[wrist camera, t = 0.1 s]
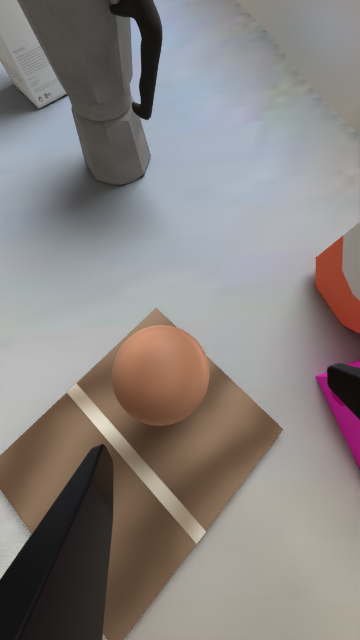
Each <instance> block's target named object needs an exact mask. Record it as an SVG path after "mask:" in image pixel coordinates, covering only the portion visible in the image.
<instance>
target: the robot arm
mask: <svg viewBox="0 0 360 640" xmlns="http://www.w3.org/2000/svg"><path fill="white" fill-rule="evenodd" d="M327 384H328V387H329V388H330V390H331V391H332V392H333V393H334V394H335V395H336V396H337V397H338V398H339V399H340V400H341V401H342V402H343V403H344V404H345V405H346V406H347V407H348V408H349V410H350V411H351V412H352V413H353V414H354V415H355V416H356V417H357V418H358V419H359V420H360V368H359V367H354V366H350V365H345V364H340V363H337V364H334V365H331V366H329V367H328V368H327ZM113 487H114V466H113V460H112V457H111V455H110V453H109V451H108V449H107V448H106V446H105V445H104V444H100V445H97V446H94V447H92V448H91V449H90V451H89V452H88V454H87V455H86V457H85V458H84V459H83V461H82V462H81V464H80V465H79V467H78V468H77V470H76V471H75V472H74V474H73V475H72V477H71V478H70V480H69V481H68V483H67V484H66V485H65V487H64V488H63V490H62V491H61V493H60V494H59V495H58V497H57V498H56V500H55V501H54V503H53V504H52V506H51V507H50V508H49V510H48V511H47V513H46V514H45V516H44V517H43V519H42V520H41V521H40V523H39V524H38V526H37V527H36V529H35V530H34V532H33V533H32V534H31V536H30V537H29V539H28V540H27V542H26V543H25V545H24V546H23V547H22V549H21V550H20V552H19V553H18V555H17V556H16V558H15V559H14V560H13V562H12V563H11V565H10V566H9V568H8V569H7V571H6V572H5V573H4V575H3V576H2V578H1V579H0V640H102V636H103V625H104V614H105V604H106V593H107V582H108V571H109V560H110V549H111V538H112V528H113Z"/></svg>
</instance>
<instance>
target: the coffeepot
mask: <svg viewBox="0 0 360 640" xmlns="http://www.w3.org/2000/svg"><path fill="white" fill-rule="evenodd" d="M17 1H18V3H19V5H20V7H21V9H22V11H23V13H24V15H25V17H26V18H27V20H28V22H29V24H30V26H31V28H32V30H33V32H34V34H35V36H36V38H37V40H38V42H39V44H40V46H41V48H42V49H43V51H44V53H45V55H46V57H47V59H48V61H49V63H50V65H51V67H52V69H53V71H54V73H55V75H56V77H57V79H58V80H59V82H60V84H61V86H62V87H63V89H64V90H65V92H66V93H67V95H68V96H69V99H70V101H71V104H72V113H73V117H74V121H75V125H76V129H77V132H78V136H79V140H80V144H81V148H82V152H83V155H84V159H85V163H86V164H87V166H88V167H89V169H90V171H91V173H92V174H93V175H94V177H95V178H96V180H99V181H101V182H104V183H107V184H112V185H122V184H128V183H130V182H133V181H135V180H137V179H138V178H139V177H141V176H142V175H144V173H145V171H146V169H147V167H148V162H149V158H150V156H151V155H150V152H149V148H148V145H147V141H146V138H145V134H144V131H143V127H142V123H141V120H140V117H141V118H142V119H145V120H148V119H149V118H150V117H151V113H152V106H153V99H154V92H155V85H156V78H157V70H158V64H159V58H160V52H161V45H162V25H161V21H160V17H159V14H158V12H157V9H156V7H155V4H154V2H153V0H17ZM130 17H131V18H134V19H135V20H136V22H137V25H138V27H139V30H140V33H141V37H142V41H141V77H140V82H139V90H140V96H141V104H137V103H135V101H134V99H133V97H132V96H131V91H130V85H129V84H130V82H131V79H132V52H131V29H130Z"/></svg>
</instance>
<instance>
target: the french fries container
mask: <svg viewBox="0 0 360 640" xmlns="http://www.w3.org/2000/svg"><path fill="white" fill-rule="evenodd" d="M316 288H317V289H318V291H319V292H320V294H321V295H322V296H323V298H324V299H325V301H326V302H327V304H328V305H329V307H330V308H331V310H332V311H333V312H334V314H335V315H336V317H337V318H338V320H339V321H340V323H341V324H342V325H343V326H345V327H347V328H349V329H351V330H353V331H355V332H357V333H359V334H360V222H359V223H358V224H357V225H356V226H354V227H353V228H352V229H351V230H349V231H348V232H347V233H346V234H345V235H343V236H342V237H341V238H340V239H338V240H337V241H336V242H335V243H333V244H332V245H331V246H330V247H329V248H327V249H326V250H325V251H324V252H322V253H321V254H320V255H319V256H318V257H316Z"/></svg>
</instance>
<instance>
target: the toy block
mask: <svg viewBox="0 0 360 640" xmlns="http://www.w3.org/2000/svg"><path fill="white" fill-rule="evenodd" d="M347 365H350V366H354V367H359V368H360V360H358V361H355V362H352V363H350V364H347ZM316 378H317V380H318V382H319V385H320V387H321V389H322V391H323V393H324V395H325V397H326V399H327V401H328V403H329V405H330V408H331V410H332V412H333V414H334V416H335V418H336V420H337V422H338V424H339V426H340V428H341V430H342V433H343V435H344V437H345V439H346V441H347V443H348V445H349V447H350V449H351V451H352V453H353V455H354V458H355V460H356V462H357V464H358V466H359V468H360V420H359V419H358V418H357V417H356V416H355V415H354V414H353V413H352V412H351V411H350V410H349V408H348V407H347V406H346V405H345V404H344V403H343V402H342V401H341V400H340V399H339V398H338V397H337V396H336V395H335V394H334V393H333V392H332V391H331V390H330V388H329V387H328V384H327V372H326V373H323V374H321V375H318V376H316Z"/></svg>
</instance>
